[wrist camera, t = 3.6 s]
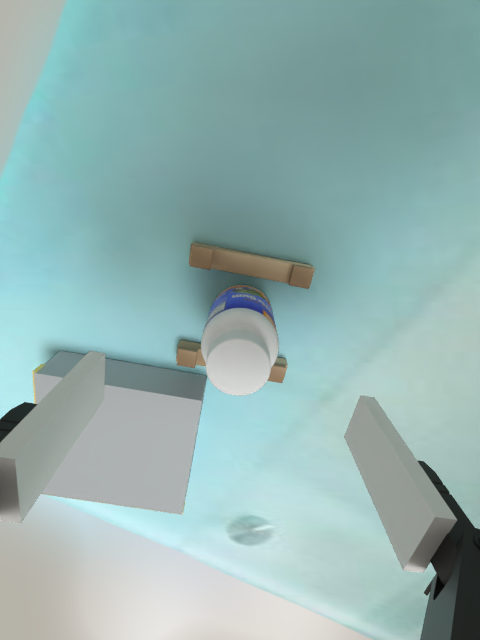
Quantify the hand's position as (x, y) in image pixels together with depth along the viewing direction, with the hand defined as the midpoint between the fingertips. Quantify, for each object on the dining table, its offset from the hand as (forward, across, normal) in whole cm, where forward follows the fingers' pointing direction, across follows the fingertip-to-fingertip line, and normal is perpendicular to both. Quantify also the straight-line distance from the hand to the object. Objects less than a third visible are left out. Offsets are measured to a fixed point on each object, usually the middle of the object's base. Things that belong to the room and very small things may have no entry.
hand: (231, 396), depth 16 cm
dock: (+13, -8, -14) cm, 21 cm away
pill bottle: (+13, +1, 0) cm, 13 cm away
